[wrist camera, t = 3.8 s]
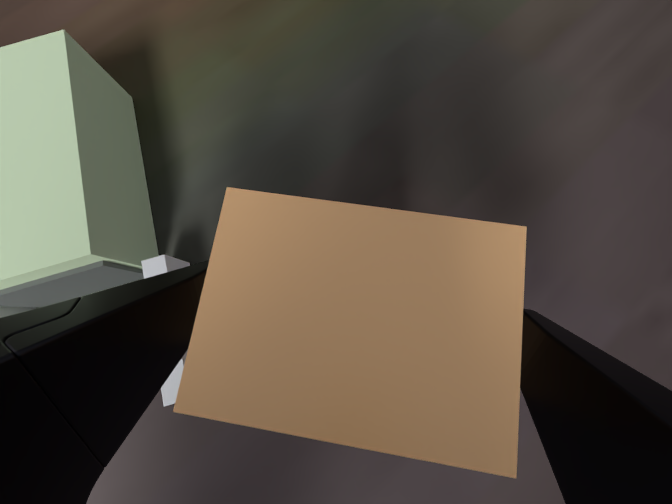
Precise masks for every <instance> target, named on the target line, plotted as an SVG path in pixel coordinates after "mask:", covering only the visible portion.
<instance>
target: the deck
mask: <svg viewBox="0 0 672 504" xmlns="http://www.w3.org/2000/svg"><path fill="white" fill-rule="evenodd" d="M187 266H190V263H189V262H186V261H183V260H180V259H177V258H174V257H171V256H168V255H165V254H164V255H161V256H159V254H158V248H157V242H156V236H155V230H154V224H153V218H152V212H151V206H150V200H149V195H148V189H147V183H146V177H145V171H144V165H143V159H142V153H141V147H140V141H139V135H138V129H137V123H136V117H135V111H134V105H133V99H132V97H131V96H130V95H129V94H128V93H127V92H126V91H125V90H124V89H123V88H122V87H121V86H120V85H119V84H118V83H117V82H116V81H115V80H114V79H113V78H112V77H111V76H110V75H109V74H108V73H107V72H106V71H105V70H104V69H103V68H102V67H101V66H100V65H99V64H98V63H97V62H96V61H95V60H94V59H93V58H92V57H91V56H90V55H89V54H88V53H87V52H86V51H85V50H84V49H83V48H82V47H81V46H80V45H79V44H78V43H77V42H76V41H75V40H74V39H73V38H72V37H71V36H70V35H69V34H68V33H67V32H66V31H65V30H60V31H57V32H53V33H50V34H46V35H43V36H39V37H36V38H32V39H28V40H25V41H21V42H18V43H14V44H11V45H7V46H4V47H0V318H1V317H5V316H9V315H13V314H17V313H21V312H25V311H29V310H33V309H36V307H39V308H40V307H44V306H48V305H52V304H55V303H59V302H63V301H66V300H70V299H73V298H77V297H81V296H85V295H88V294H91V293H95V292H98V291H102V290H105V289H109V288H112V287H116V286H119V285H122V284H126V283H129V282H133V281H136V280H140V279H143V278H144V279H145V278H149V277H152V276H156V275H159V274H163V273H166V272H170V271H173V270H177V269H180V268H184V267H187ZM187 352H188V350H187V351H186V353H185V354H184V356H183V357H182V359H181V360H180V361H179V363H178V364H177V366H176V367H175V369H174V370H173V371H172V373H171V374H170V376H169V377H168V379H167V380H166V381H165V383H164V384H163V386H162V387H161V392H162V398H163V405H164V406H168V405H171V404H174V403H175V402H176V397H177V393H178V389H179V385H180V381H181V377H182V372H183V368H184V364H185V360H186V356H187Z"/></svg>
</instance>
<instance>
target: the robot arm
mask: <svg viewBox="0 0 672 504" xmlns="http://www.w3.org/2000/svg"><path fill="white" fill-rule="evenodd" d="M208 264H209V261H205V262H201V263H198V264H194V265H191V266H187V267H184V268H180V269H177V270H173V271H170V272H166V273H163V274H159V275H156V276H152V277H149V278H145V279H142V280H138V281H134V282H131V283H127V284H124V285H120V286H117V287H113V288H110V289H106V290H103V291H99V292H96V293H92V294H89V295H85V296H83V297H82V298H81V297H77V298H73V299H70V300H66V301H63V302H59V303H55V304H52V305H48V306H44V307H40V308H37V309H33V310H29V311H25V312H21V313H17V314H13V315H9V316H5V317H1V318H0V504H86V502H87V500H88V497H89V495H90V493H91V490H92V488H93V487H94V485H95V483H96V481H97V479H98V478H99V476H100V475H101V473H102V472H103V470H104V467H106V466H107V464H108V463H109V462H110V460H111V459H112V457H113V456H114V454H115V453H116V452H117V450H118V449H119V447H120V446H121V444H122V443H123V442H124V440H125V439H126V437H127V436H128V434H129V433H130V432H131V430H132V429H133V427H134V426H135V424H136V423H137V422H138V420H139V419H140V417H141V416H142V414H143V413H144V412H145V410H146V409H147V407H148V406H149V404H150V403H151V401H152V400H153V399H154V397H155V396H156V394H157V393H158V391H159V390H160V389H161V387H162V386H163V384H164V383H165V381H166V380H167V379H168V377H169V376H170V374H171V373H172V371H173V370H174V369H175V367H176V366H177V364H178V363H179V361H180V360H181V359H182V357H183V356H184V354H185V353H186V351H187V350H188V347H189V343H190V339H191V335H192V331H193V327H194V322H195V318H196V314H197V310H198V306H199V302H200V297H201V293H202V289H203V285H204V281H205V277H206V272H207V268H208ZM520 388H521V391H522V393H523V396H524V398H525V401H526V403H527V406H528V409H529V411H530V414H531V416H532V419H533V421H534V424H535V427H536V429H537V432H538V434H539V437H540V439H541V442H542V444H543V447H544V450H545V452H546V455H547V457H548V460H549V462H550V465H551V467H552V470H553V473H554V475H555V478H556V480H557V483H558V485H559V488H560V491H561V493H562V496H563V498H564V501H565V503H566V504H672V391H671V390H669V389H667V388H666V387H664V386H662V385H661V384H659V383H657V382H655V381H654V380H652V379H650V378H649V377H647V376H645V375H643V374H642V373H640V372H638V371H637V370H635V369H633V368H631V367H630V366H628V365H626V364H625V363H623V362H621V361H619V360H618V359H616V358H614V357H613V356H611V355H609V354H607V353H606V352H604V351H602V350H601V349H599V348H597V347H595V346H594V345H592V344H590V343H589V342H587V341H585V340H583V339H582V338H580V337H578V336H577V335H575V334H573V333H571V332H570V331H568V330H566V329H565V328H563V327H561V326H559V325H558V324H556V323H554V322H553V321H551V320H549V319H547V318H546V317H544V316H542V315H541V314H539V313H537V312H535V311H533V310H528V309H523V327H522V352H521V376H520Z"/></svg>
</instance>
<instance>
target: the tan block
mask: <svg viewBox="0 0 672 504" xmlns="http://www.w3.org/2000/svg"><path fill="white" fill-rule="evenodd" d="M526 229H527V227H525V226H518V225H510V224H502V223H495V222H487V221H480V220H472V219H465V218H457V217H449V216H442V215H434V214H427V213H419V212H412V211H404V210H396V209H389V208H381V207H374V206H366V205H359V204H351V203H343V202H336V201H328V200H321V199H313V198H306V197H298V196H290V195H283V194H275V193H268V192H260V191H253V190H245V189H238V188H230V187H227V189H226V193H225V197H224V201H223V206H222V210H221V214H220V218H219V222H218V226H217V231H216V235H215V239H214V243H213V247H212V251H211V256H210V260H209V264H208V268H207V272H206V277H205V281H204V285H203V289H202V293H201V297H200V302H199V306H198V310H197V314H196V318H195V322H194V327H193V331H192V335H191V339H190V343H189V347H188V352H187V356H186V360H185V364H184V368H183V372H182V377H181V381H180V385H179V389H178V393H177V397H176V402H175V406H174V410H173V412H176V413H181V414H187V415H192V416H197V417H202V418H207V419H212V420H217V421H223V422H228V423H233V424H238V425H243V426H248V427H254V428H259V429H264V430H269V431H274V432H279V433H284V434H290V435H295V436H300V437H305V438H310V439H315V440H321V441H326V442H331V443H336V444H341V445H346V446H351V447H357V448H362V449H367V450H372V451H377V452H382V453H388V454H393V455H398V456H403V457H408V458H413V459H419V460H424V461H429V462H434V463H439V464H444V465H449V466H455V467H460V468H465V469H470V470H475V471H480V472H486V473H491V474H496V475H501V476H506V477H511V478H516V474H517V450H518V425H519V401H520V376H521V352H522V327H523V303H524V278H525V254H526Z"/></svg>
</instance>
